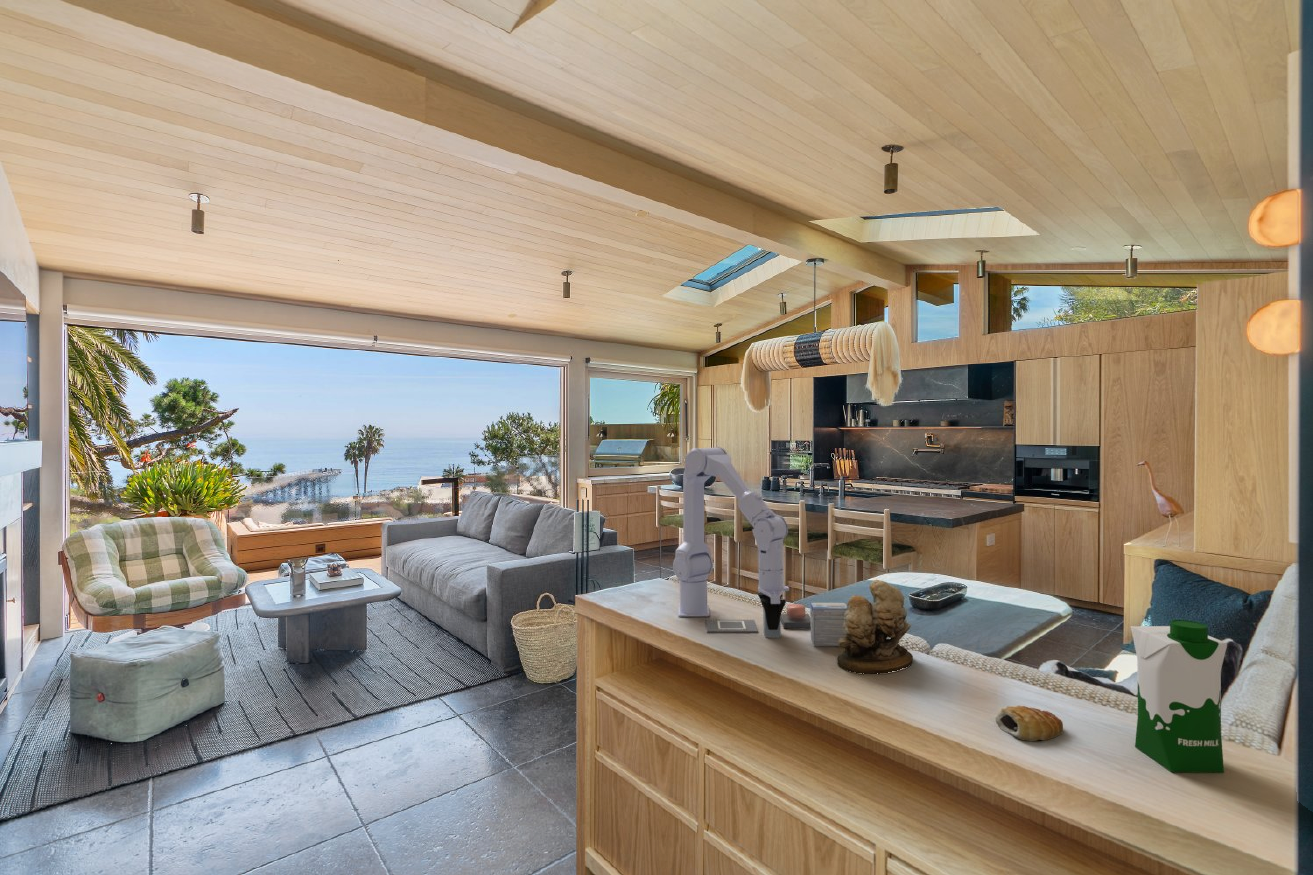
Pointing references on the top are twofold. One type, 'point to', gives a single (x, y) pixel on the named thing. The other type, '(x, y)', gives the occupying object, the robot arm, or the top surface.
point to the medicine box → (827, 623)
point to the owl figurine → (875, 632)
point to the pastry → (1029, 723)
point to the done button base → (795, 621)
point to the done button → (796, 610)
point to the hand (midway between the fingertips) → (771, 626)
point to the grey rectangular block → (770, 632)
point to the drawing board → (731, 626)
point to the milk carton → (1179, 696)
